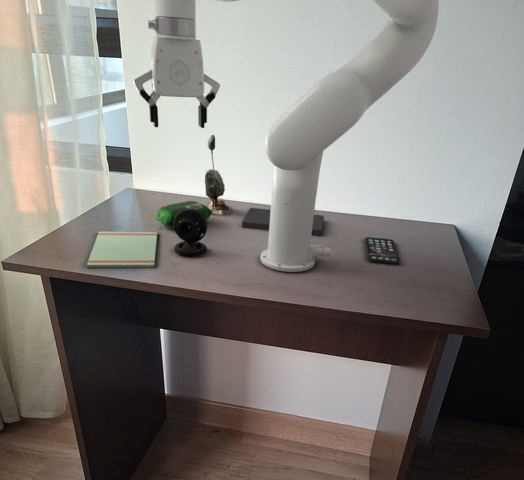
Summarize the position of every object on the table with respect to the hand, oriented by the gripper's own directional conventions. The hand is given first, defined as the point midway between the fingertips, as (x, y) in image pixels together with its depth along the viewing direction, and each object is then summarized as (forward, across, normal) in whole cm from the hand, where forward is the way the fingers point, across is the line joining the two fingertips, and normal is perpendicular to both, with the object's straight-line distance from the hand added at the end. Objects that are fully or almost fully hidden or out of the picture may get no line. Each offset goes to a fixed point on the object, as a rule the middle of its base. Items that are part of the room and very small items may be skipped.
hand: (178, 126), depth 102 cm
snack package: (+26, +3, +14) cm, 30 cm away
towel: (+26, -14, -1) cm, 29 cm away
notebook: (+26, +30, +11) cm, 41 cm away
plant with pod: (+26, +14, +24) cm, 38 cm away
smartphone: (+26, +48, -12) cm, 56 cm away
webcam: (+26, +1, -5) cm, 27 cm away
